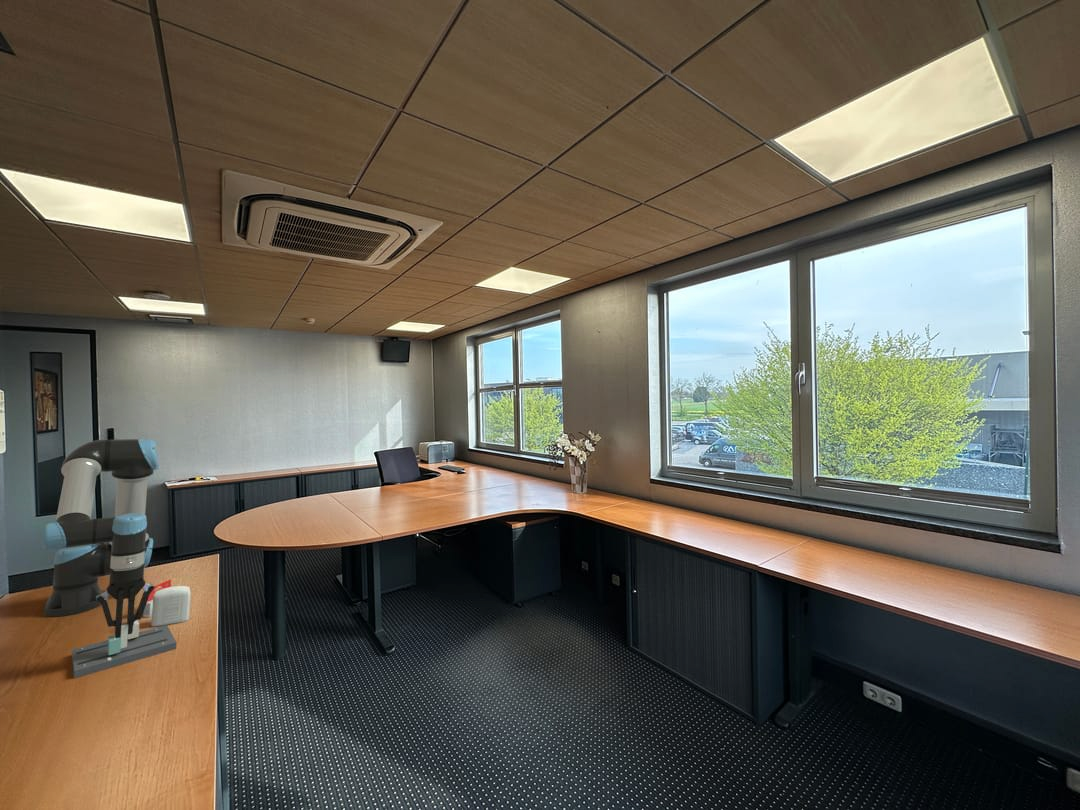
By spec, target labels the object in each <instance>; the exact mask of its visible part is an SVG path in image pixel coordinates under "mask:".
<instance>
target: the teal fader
mask: <svg viewBox="0 0 1080 810" xmlns="http://www.w3.org/2000/svg"><path fill="white" fill-rule="evenodd" d="M107 640H108V646H107V651H108V655H112V654H116V653H119V652H120V650H121V637H117V638H116V636H115V634H113V635H109V636H108V637H107Z"/></svg>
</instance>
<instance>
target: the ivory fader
mask: <svg viewBox="0 0 1080 810" xmlns="http://www.w3.org/2000/svg"><path fill="white" fill-rule="evenodd" d="M139 632H140V622H139V620H136V621H135V622H134V623H133V632H132V634H128V638H127V639H132V638H136V637H139Z"/></svg>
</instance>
